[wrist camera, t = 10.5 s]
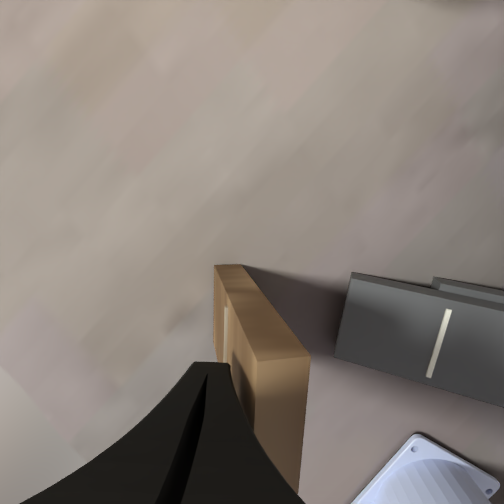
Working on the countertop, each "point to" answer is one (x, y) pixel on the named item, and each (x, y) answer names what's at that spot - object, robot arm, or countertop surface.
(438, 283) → the domino
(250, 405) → the walnut domino
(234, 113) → the countertop surface
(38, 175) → the countertop surface
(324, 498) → the countertop surface
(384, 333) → the domino
